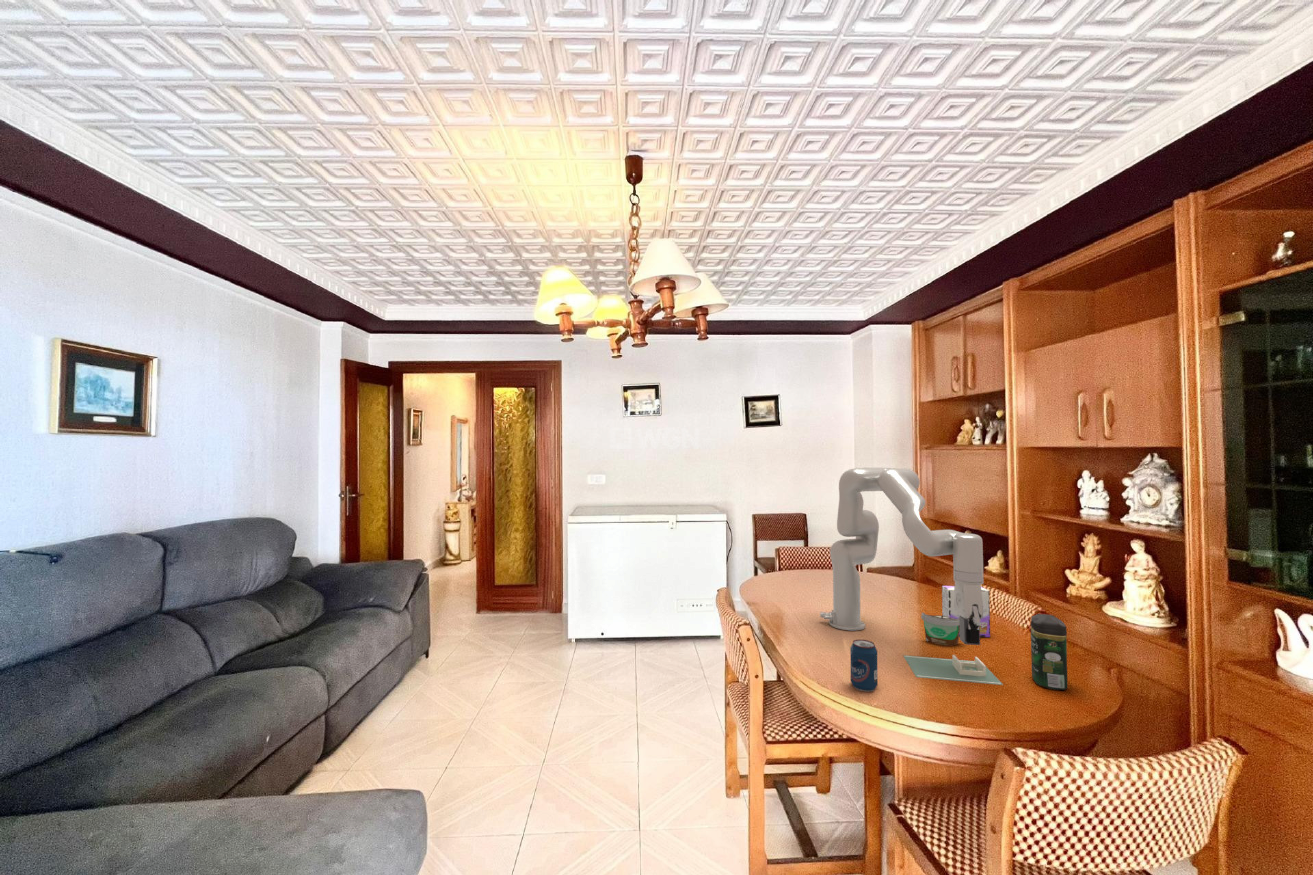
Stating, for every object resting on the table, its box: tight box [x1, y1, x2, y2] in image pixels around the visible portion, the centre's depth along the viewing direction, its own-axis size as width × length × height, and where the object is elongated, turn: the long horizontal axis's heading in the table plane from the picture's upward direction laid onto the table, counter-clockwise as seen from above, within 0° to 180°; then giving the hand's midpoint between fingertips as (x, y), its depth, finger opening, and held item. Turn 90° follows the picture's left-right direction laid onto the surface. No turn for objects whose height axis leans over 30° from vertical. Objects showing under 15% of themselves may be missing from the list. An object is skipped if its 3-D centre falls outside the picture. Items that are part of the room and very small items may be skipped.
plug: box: [959, 615, 981, 646], centre depth 153 cm, size 4×4×7 cm
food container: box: [920, 612, 960, 647], centre depth 175 cm, size 12×6×10 cm, turn 62°
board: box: [902, 654, 1004, 686], centre depth 154 cm, size 22×16×1 cm
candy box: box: [941, 585, 991, 638], centre depth 187 cm, size 14×6×16 cm, turn 84°
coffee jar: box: [1030, 613, 1069, 691], centre depth 148 cm, size 10×8×19 cm
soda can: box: [849, 639, 879, 693], centre depth 146 cm, size 7×7×12 cm
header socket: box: [952, 654, 987, 677], centre depth 153 cm, size 7×7×3 cm
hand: (969, 639), depth 153 cm, fingers closed on plug, 4 cm apart
